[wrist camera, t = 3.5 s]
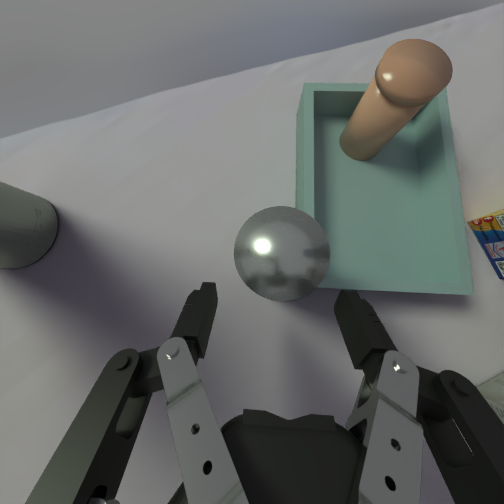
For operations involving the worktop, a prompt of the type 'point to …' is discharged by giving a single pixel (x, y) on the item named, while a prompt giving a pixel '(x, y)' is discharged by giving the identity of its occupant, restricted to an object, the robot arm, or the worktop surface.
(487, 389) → the coffee box
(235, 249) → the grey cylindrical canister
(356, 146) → the pestle
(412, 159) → the tray
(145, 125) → the worktop surface
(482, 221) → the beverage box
